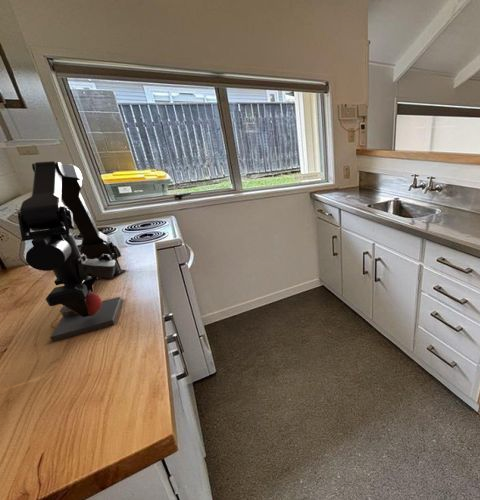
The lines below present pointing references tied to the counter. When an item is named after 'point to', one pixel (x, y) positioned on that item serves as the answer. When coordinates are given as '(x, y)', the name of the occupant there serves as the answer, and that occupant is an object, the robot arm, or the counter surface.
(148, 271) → the counter surface
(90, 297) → the onion
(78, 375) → the counter surface
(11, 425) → the counter surface
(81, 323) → the scale
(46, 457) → the counter surface
